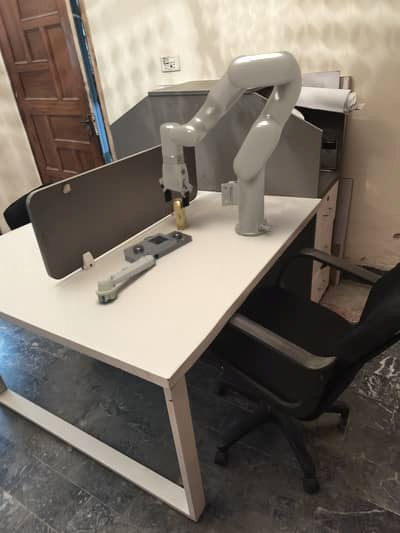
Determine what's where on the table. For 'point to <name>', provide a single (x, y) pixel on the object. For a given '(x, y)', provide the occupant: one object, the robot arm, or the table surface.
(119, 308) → the table surface
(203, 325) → the table surface
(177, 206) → the brass pin
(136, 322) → the table surface
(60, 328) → the table surface
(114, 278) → the toothbrush head
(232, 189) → the hinge
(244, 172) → the robot arm
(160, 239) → the plate
